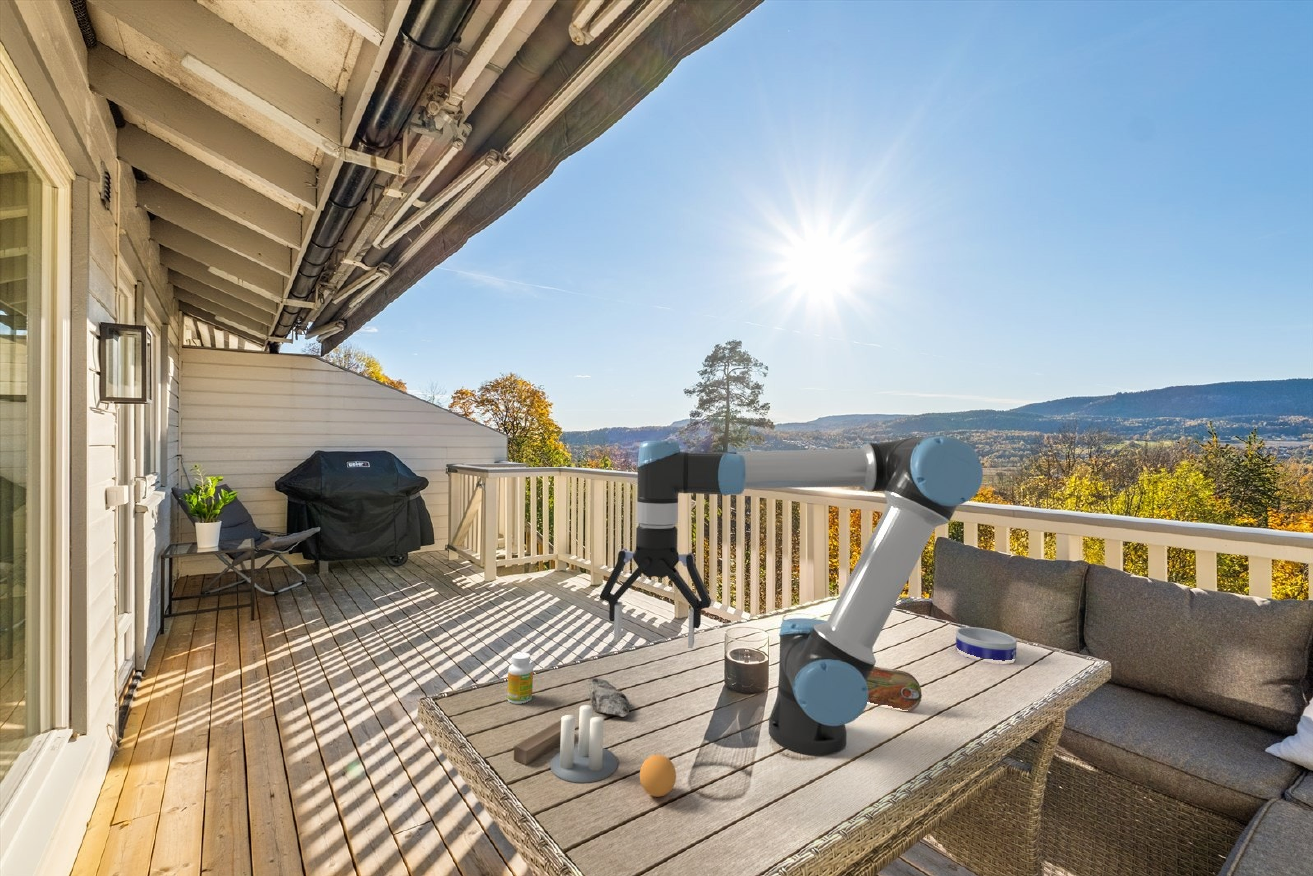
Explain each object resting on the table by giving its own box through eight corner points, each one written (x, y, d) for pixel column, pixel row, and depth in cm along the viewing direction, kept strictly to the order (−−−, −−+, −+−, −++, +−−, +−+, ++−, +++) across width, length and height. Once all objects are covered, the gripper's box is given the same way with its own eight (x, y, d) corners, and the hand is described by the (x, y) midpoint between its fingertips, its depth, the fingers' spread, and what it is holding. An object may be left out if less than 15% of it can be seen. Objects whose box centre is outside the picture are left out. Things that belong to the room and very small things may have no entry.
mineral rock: (633, 721, 122) (634, 699, 122) (595, 724, 120) (596, 702, 120) (619, 692, 136) (619, 673, 136) (585, 694, 134) (585, 675, 134)
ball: (682, 791, 97) (683, 755, 97) (663, 809, 92) (664, 771, 92) (651, 779, 100) (653, 744, 100) (631, 796, 95) (633, 759, 95)
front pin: (604, 767, 103) (606, 719, 104) (596, 773, 101) (598, 724, 102) (594, 763, 105) (595, 715, 105) (585, 769, 103) (587, 720, 103)
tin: (849, 701, 135) (850, 664, 135) (851, 696, 137) (852, 660, 138) (921, 716, 128) (922, 677, 128) (921, 710, 131) (922, 672, 131)
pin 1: (576, 765, 104) (577, 717, 104) (567, 771, 102) (568, 722, 102) (565, 761, 105) (567, 713, 105) (556, 767, 103) (558, 718, 103)
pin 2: (593, 753, 108) (595, 707, 108) (585, 759, 106) (587, 712, 106) (583, 749, 109) (585, 704, 109) (575, 755, 107) (576, 708, 107)
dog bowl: (967, 643, 180) (967, 623, 180) (1023, 657, 169) (1023, 636, 169) (947, 654, 170) (947, 633, 170) (1006, 669, 158) (1006, 647, 158)
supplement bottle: (520, 706, 126) (522, 661, 126) (501, 700, 129) (503, 656, 129) (537, 697, 131) (538, 654, 131) (518, 692, 133) (520, 649, 134)
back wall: (573, 736, 114) (574, 723, 114) (525, 765, 103) (526, 751, 103) (562, 731, 116) (562, 719, 116) (513, 760, 105) (514, 746, 105)
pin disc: (630, 759, 106) (631, 758, 106) (589, 791, 96) (589, 790, 96) (580, 740, 113) (580, 739, 113) (535, 767, 103) (536, 766, 103)
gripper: (727, 526, 108) (724, 641, 107) (596, 519, 112) (593, 630, 112) (724, 531, 100) (721, 655, 100) (585, 524, 105) (581, 643, 105)
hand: (654, 642), depth 106 cm, fingers open, 13 cm apart
